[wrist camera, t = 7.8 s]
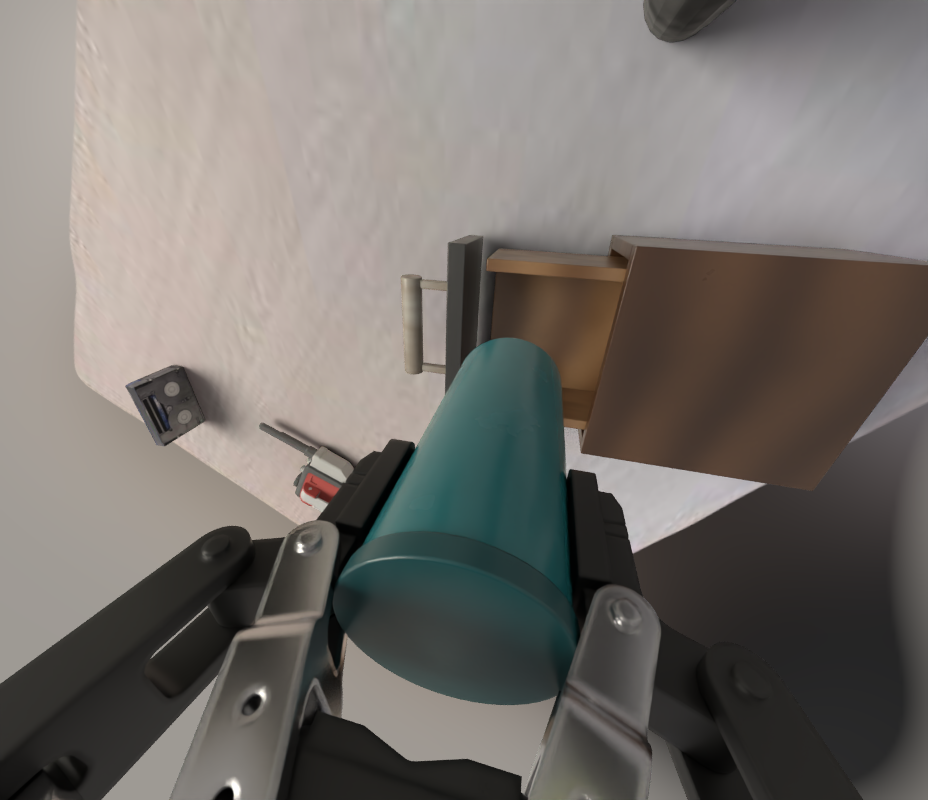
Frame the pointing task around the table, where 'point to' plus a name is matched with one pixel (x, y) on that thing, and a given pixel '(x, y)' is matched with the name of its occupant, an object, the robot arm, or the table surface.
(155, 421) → the mini dv tape
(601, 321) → the drawer
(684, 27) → the beverage cup
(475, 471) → the tin
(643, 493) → the table surface
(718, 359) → the cabinet
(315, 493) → the walkie-talkie
